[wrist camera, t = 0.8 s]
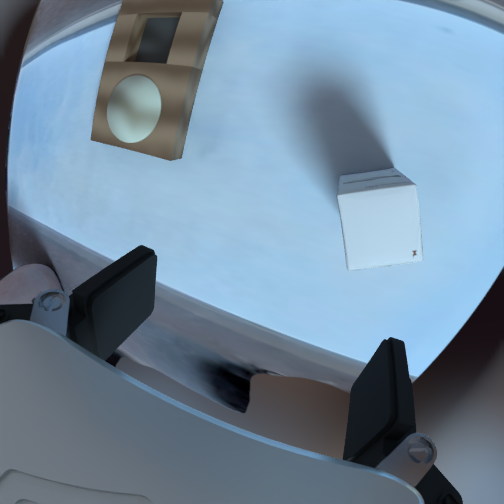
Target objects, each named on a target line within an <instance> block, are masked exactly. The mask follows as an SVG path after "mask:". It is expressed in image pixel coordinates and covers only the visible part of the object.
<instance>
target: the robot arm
mask: <svg viewBox="0 0 504 504" xmlns="http://www.w3.org/2000/svg"><path fill="white" fill-rule="evenodd" d="M156 267H157V255H155V252H154V250H152V249H150V248H148V247H145V246H143V245H140V246H138V247H137V248H135V249H134V250H132V251H130V252H129V253H127V254H126V255H124V256H123V257H121V258H120V259H118V260H117V261H115V262H114V263H112V264H111V265H109V266H107V267H106V268H104V269H103V270H102V271H100V272H99V273H97V274H96V275H94V276H93V277H91V278H90V279H88V280H87V281H85V282H84V283H82V284H81V285H80V286H78V287H77V288H75V289H74V290H72V292H73V294H71V295H70V296H68V294H67V293H66V292H64V291H62V290H58V289H49V290H46V291H43V292H42V293H40V294H39V295H38V296H37V297H36V299H35V301H34V303H33V304H1V305H0V504H463V501H462V497H461V495H460V494H459V492H458V491H457V490H456V489H455V488H454V487H453V486H452V484H451V483H450V482H449V481H448V480H447V479H446V478H445V476H443V474H442V473H441V472H440V471H439V470H438V469H437V467H436V466H435V465H434V462H435V460H436V458H437V449H436V446H435V444H434V443H433V441H432V440H431V439H430V438H429V437H428V436H426V435H424V434H422V433H416V423H415V411H414V401H413V391H412V383H411V379H410V378H409V371H408V364H407V357H406V350H405V344H404V342H403V341H401V340H398V339H395V338H392V337H390V338H389V339H388V340H386V339H384V340H383V341H382V343H381V344H380V346H379V347H378V349H377V350H376V352H375V353H374V355H373V356H372V358H371V359H370V361H369V362H368V364H367V365H366V367H365V368H364V370H363V371H362V373H361V374H360V375H359V377H358V378H357V380H356V381H355V382H354V384H353V386H352V388H351V394H350V406H349V415H348V423H347V432H346V439H345V447H344V454H343V460H341V459H337V458H333V457H329V456H325V455H322V454H317V453H314V452H311V451H307V450H304V449H300V448H297V447H293V446H290V445H287V444H284V443H280V442H277V441H274V440H271V439H268V438H265V437H263V436H260V435H257V434H254V433H251V432H249V431H246V430H243V429H241V428H238V427H236V426H233V425H230V424H228V423H225V422H223V421H221V420H218V419H216V418H213V417H211V416H209V415H206V414H204V413H202V412H200V411H197V410H195V409H193V408H191V407H189V406H186V405H184V404H182V403H180V402H178V401H176V400H174V399H172V398H170V397H168V396H166V395H164V394H162V393H160V392H158V391H156V390H154V389H152V388H150V387H149V386H147V385H145V384H143V383H141V382H139V381H138V380H136V379H134V378H132V377H130V376H129V375H127V374H125V373H123V372H122V371H120V370H118V369H117V368H115V367H113V366H112V365H110V364H108V363H107V362H105V360H106V359H107V358H108V357H109V356H110V355H111V354H112V353H113V352H114V351H115V350H116V349H117V348H118V347H119V346H120V345H121V344H122V343H123V342H124V341H125V340H126V339H127V338H128V337H129V336H130V335H131V334H132V333H133V332H134V331H135V330H136V329H137V328H138V327H139V326H140V325H141V324H142V323H143V322H144V321H145V320H146V319H147V318H148V317H149V316H150V315H151V313H152V312H153V309H154V299H155V281H156Z"/></svg>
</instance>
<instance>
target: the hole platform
mask: <svg viewBox="0 0 504 504" xmlns="http://www.w3.org/2000/svg"><path fill="white" fill-rule="evenodd" d="M222 5H223V1H222V0H123V3H122V6H121V9H120V11H119V14H118V17H117V21H116V24H115V27H114V30H113V34H112V37H111V41H110V44H109V48H108V52H107V55H106V59H105V64H104V68H103V72H102V77H101V81H100V86H99V91H98V96H97V102H96V107H95V113H94V119H93V126H92V133H91V140H92V141H96V142H101V143H105V144H109V145H113V146H117V147H121V148H125V149H129V150H133V151H136V152H140V153H144V154H148V155H151V156H155V157H159V158H162V159H166V160H169V161H172V160H176V159H181V158H182V154H183V149H184V144H185V139H186V135H187V130H188V126H189V121H190V117H191V113H192V109H193V105H194V100H195V96H196V93H197V89H198V85H199V81H200V77H201V73H202V70H203V66H204V63H205V59H206V56H207V52H208V49H209V45H210V42H211V39H212V36H213V32H214V29H215V26H216V23H217V20H218V17H219V14H220V11H221V8H222Z"/></svg>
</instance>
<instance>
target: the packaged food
mask: <svg viewBox="0 0 504 504" xmlns="http://www.w3.org/2000/svg"><path fill="white" fill-rule="evenodd" d="M49 289H58V290H62V288H61V285H60V283H59V280H58V278H57V276H56V275H55V273H54V272H53V270H52V269H51V268H49V267H48V266H45V265H42V264H29V265H24V266H21V267H19V268H16V269H14V270H13V271H11V272H9V273H8V274H6V275H5V276H4V277H3V278H1V279H0V305H1V304H33V303H34V301H35V299H36V297H37V296H38V295H39V294H40V293H42V292H43V291H46V290H49Z"/></svg>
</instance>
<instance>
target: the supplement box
mask: <svg viewBox="0 0 504 504" xmlns="http://www.w3.org/2000/svg"><path fill="white" fill-rule="evenodd" d="M337 199H338V205H339V212H340V219H341V226H342V233H343V241H344V248H345V257H346V265H347V270H349V271H353V270H361V269H369V268H376V267H386V266H392V265H400V264H407V263H415V262H422V261H423V249H422V234H421V223H420V213H419V203H418V194H417V186H416V184H415V183H413V182H412V181H411V180H410V179H408V178H407V177H406V176H405V175H403V174H402V173H401V172H399V171H398V170H397V169H395V168H389V169H384V170H378V171H371V172H364V173H357V174H349V175H340V177H339V186H338V192H337Z"/></svg>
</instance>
